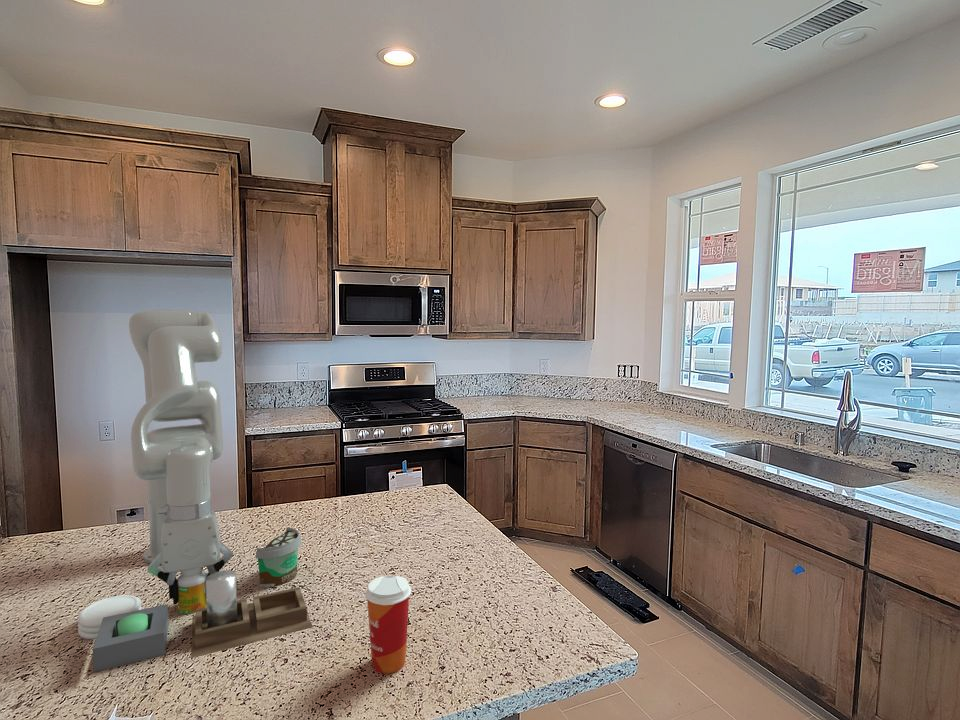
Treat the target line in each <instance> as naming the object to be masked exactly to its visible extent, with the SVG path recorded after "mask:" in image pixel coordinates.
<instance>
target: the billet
mask: <svg viewBox="0 0 960 720" xmlns="http://www.w3.org/2000/svg"><path fill="white" fill-rule="evenodd" d="M237 597H238V596H237V573H236V572H235V571H233V570H228V569H227V570H226V569H225V570H220V571H218V572H215V573H213V574H211V575H209V576H208V577H207V578H206V600H207V628H208V629H209V628H213V627H217V626H222V625H226V624H230V623H234V622H237V601H238V600H237Z"/></svg>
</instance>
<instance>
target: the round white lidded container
mask: <svg viewBox="0 0 960 720" xmlns="http://www.w3.org/2000/svg"><path fill="white" fill-rule="evenodd" d="M141 605H142V601H141V599H140V598H139V597H137V596H135V595H131V594H122V595H121V594H120V595H114V596H109V597H106V598H102V599H99V600H97V601H94V602H93V603H91V604H89V605H87V606H86V607H85V608H84V609H82V610H81V611H80V612H79V614H78V616H77V619H76V620H77V622H78V623H77V633H78V635H79V636H80V637H81V638H83V639H84V640H85V639H86V640H96V637H97V634H98V631H99V628H100V625H101V622H102V620H103V617H108V616H113V615H118V614H122V613H127V612H132V611H137V610H142V606H141Z"/></svg>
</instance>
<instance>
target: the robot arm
mask: <svg viewBox="0 0 960 720" xmlns="http://www.w3.org/2000/svg"><path fill="white" fill-rule="evenodd" d="M128 329H129V335H130V338H131V341H132V344H133V347H134V348H135V351H136V352H137V355H138V357H139V358H140V360H141V364H142V367H143V376H144V377H143V378H144V379H143V380H144V394H145V404H144V405H143V406H142V407H141V408H140V409H139V411H138V413H137V414H136V415H135V417H134V419H133V423H132V426H131V432H130V441H131V442H130V443H131V456H132V457H131V458H132V465H133V466H132V467H133V471H134V473H135V475H136V477H138V478H139V479H140V480H144V481H146V482H147V484H146V485H147V500H148V521H149V544H150V547H148V548H147V549H145V551H144V552H143V554H142V555H143V557H142V559H143V561H144V562H145V563H148V564H149V565H148V567H147V570H146V571H147V573H148V574H150V575H152V576H154V577H156V578H158V579H160V580H161V581H162V582H164V583H166V585H167V586H168V599H169V600H172V604H173V606H174V605H176V604H178V594H177V579H178V578H177V574H178V573H179V572H180V571H185V570H190V569H196V568H201V567H203V568H205V567H206V569H207V571H208V572H206V573H207V577H208V576H209V575H211V574H213V573H215V572H218V571H221V570H222V568H223V567H224V566H225V565H226V564H227V563H228V562H229V561H230V560H231V559H232V558H233V557H234V552H233V550H231V549H230V548H229V547H228V546H227V545H225V544H224V543H223V542H221V540H220V538H221V537H220V530H219V522H218V518H217V514H216V512H215V510H213V509H212V501H211V500H212V496H211V495H212V493H211V468H210V467H211V464H212V463H213V461H215V460H217V459H219V458H220V457H221V456H222V453H223V449H224V437H223V426H222V425H223V424H222V412H221V411H222V410H221V400H220V399H221V398H220V394H219V390H218V387H217V385H215V383H213V382H211V381H208V380H207V381H206V380H198V381H197V374H196V364H197V363H213V362H217V361H218V360H219V359H220V358H221V357H222V354H223V341H222V337H221V333H220V331H219V329H218V326H217V324H216V322H215V320H214V319H213V317H212V315H211V314H210V313H209V312H206V311H202V310H170V309H169V310H168V309H167V310H165V309H164V310H159V309H158V310H157V309H156V310H155V309H153V310H151V309H150V310H143V311H139V312H135V313H133V314H132V315H131V317H130V318H129V323H128ZM188 420H199V421H200V424H198V423H197V424H190V425H176V426H168V427H160V428H155V429H153V430H150V431H149V432H148V428H149V426H150V424H151V423H152V421H154V422H157V423H165V422H166V423H167V422H180V421H188ZM221 554H222V556H221ZM160 565H161V567H160ZM180 573H181V572H180Z"/></svg>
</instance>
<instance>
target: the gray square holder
mask: <svg viewBox="0 0 960 720" xmlns="http://www.w3.org/2000/svg"><path fill="white" fill-rule="evenodd" d="M138 613H143V614H146V615H147V616H148V630H144V631H140V632H135V633H131V634H126V635H122V636H118V625H117V624H118V622H119V621H120V620H121V619H123V618H125V617H127V616H129V615H133V614H138ZM169 621H170V620H169V604H168V603H165V604H162V605H161V604H160V605H156V606H151V607H148V608H141V610H137V611H132V612H127V613H122V614H118V615H113V616H108V617H103V620H102V622H101V625H100V628H99V631H98V634H97V637H96V639H94V640H95V641H94V644H93V646H92V664H93V673H98V672H102V671H103V672H104V671H106V670H107V671H108V670H111V669H114V668H118V667H122V666H127V665H131V664H134V663H137V662H143V661H146V660H151V659H153V658H158V657H164V656H165V655H166V650H167V644H168V643H167V642H168V633H169V625H170V622H169Z"/></svg>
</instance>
